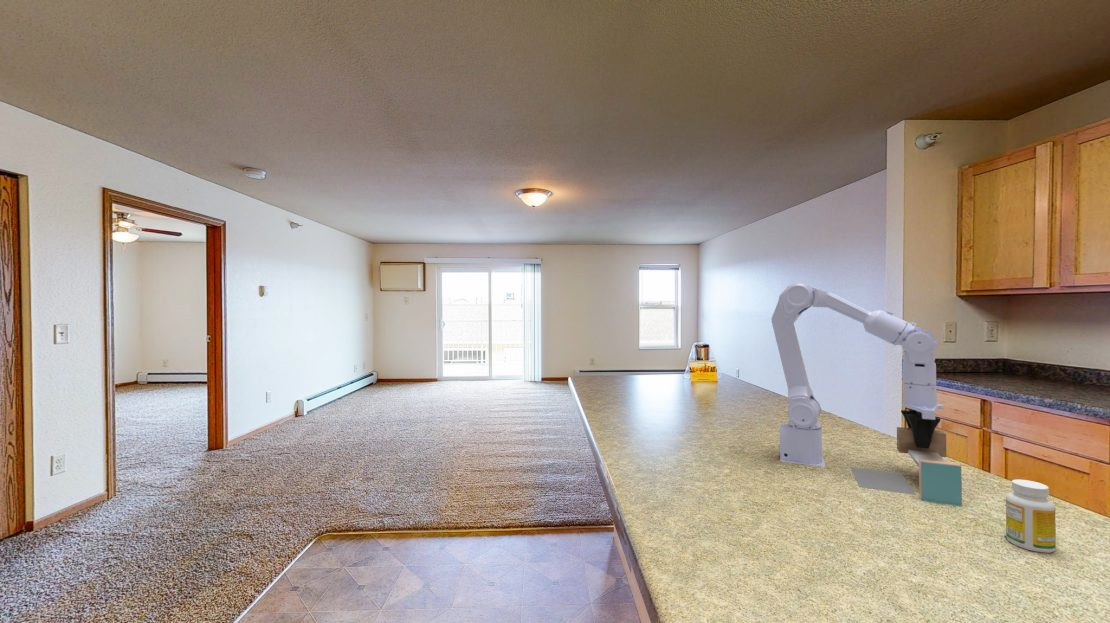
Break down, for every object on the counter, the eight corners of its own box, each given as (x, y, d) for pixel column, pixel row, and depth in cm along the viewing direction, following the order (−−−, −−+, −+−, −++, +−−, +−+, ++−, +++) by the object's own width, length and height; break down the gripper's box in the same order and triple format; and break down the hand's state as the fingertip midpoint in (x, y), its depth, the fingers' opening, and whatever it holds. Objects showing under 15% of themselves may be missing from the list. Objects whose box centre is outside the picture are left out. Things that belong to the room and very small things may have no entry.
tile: (921, 503, 86) (920, 461, 86) (919, 500, 88) (918, 459, 88) (962, 509, 83) (961, 466, 83) (959, 505, 85) (958, 463, 85)
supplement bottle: (1004, 544, 71) (1002, 483, 71) (1008, 533, 74) (1007, 475, 74) (1055, 558, 67) (1053, 493, 67) (1057, 545, 70) (1056, 484, 70)
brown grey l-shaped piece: (910, 467, 90) (910, 442, 90) (897, 449, 101) (896, 427, 101) (962, 473, 86) (962, 447, 86) (942, 453, 97) (942, 430, 97)
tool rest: (858, 489, 93) (858, 486, 93) (850, 469, 105) (850, 466, 105) (916, 497, 89) (916, 494, 89) (901, 475, 101) (901, 473, 101)
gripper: (953, 389, 90) (955, 457, 90) (932, 380, 103) (934, 439, 102) (909, 387, 93) (911, 453, 93) (894, 378, 106) (895, 436, 106)
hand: (920, 445), depth 98 cm, fingers closed on brown grey l-shaped piece, 2 cm apart
